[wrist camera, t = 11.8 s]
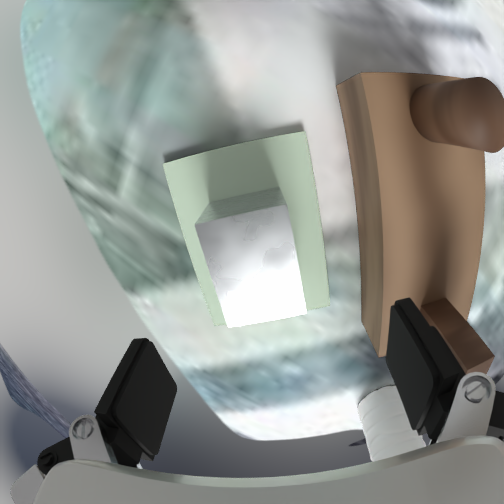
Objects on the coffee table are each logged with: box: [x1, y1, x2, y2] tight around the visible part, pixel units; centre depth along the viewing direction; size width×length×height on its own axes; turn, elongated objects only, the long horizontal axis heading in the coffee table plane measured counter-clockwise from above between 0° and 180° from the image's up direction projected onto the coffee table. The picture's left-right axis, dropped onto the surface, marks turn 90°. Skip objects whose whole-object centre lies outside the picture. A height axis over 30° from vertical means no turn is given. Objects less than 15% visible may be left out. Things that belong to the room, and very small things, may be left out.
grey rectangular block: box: [195, 187, 306, 327], centre depth 18 cm, size 5×7×5 cm
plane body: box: [336, 72, 504, 375], centre depth 14 cm, size 9×20×12 cm, turn 12°
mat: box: [163, 131, 330, 326], centre depth 21 cm, size 10×14×1 cm
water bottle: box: [358, 386, 426, 462], centre depth 18 cm, size 9×6×25 cm
